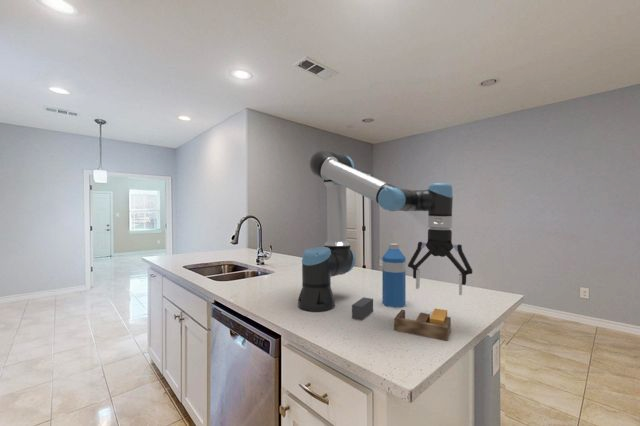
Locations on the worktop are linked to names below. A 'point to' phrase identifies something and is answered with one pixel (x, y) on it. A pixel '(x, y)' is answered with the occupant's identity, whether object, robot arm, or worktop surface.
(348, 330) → the worktop surface
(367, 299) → the tall gray prism
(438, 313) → the tall orange brick
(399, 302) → the blue water bottle
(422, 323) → the bronze desk organizer
